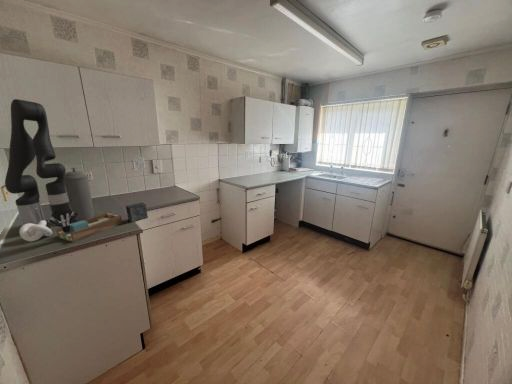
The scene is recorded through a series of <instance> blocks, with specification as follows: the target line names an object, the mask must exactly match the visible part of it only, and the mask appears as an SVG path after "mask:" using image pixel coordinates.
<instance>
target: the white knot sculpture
mask: <svg viewBox="0 0 512 384" xmlns="http://www.w3.org/2000/svg"><path fill="white" fill-rule="evenodd" d="M47 223H48V221H47V220H46V219H45V220H42V221H40V222H39V223H38V224H32V223H28V224H25V225H23V224H22V226H21V227H20V228H19V230H18V231H19V232H18V233H19V236H20V237H21V238H22V239H23V240H24V241H26V242H37V241H39V240H40V239H41V238H42V237H43V236H44V237H50V236H52V235H53V231H52V229H51V228H49V227H48V226H47V227H46V225H47ZM28 229H29V230H28Z"/></svg>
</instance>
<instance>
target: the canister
mask: <svg viewBox="0 0 512 384" xmlns="http://www.w3.org/2000/svg"><path fill="white" fill-rule="evenodd" d="M70 169H71V170H72V171H68V172H65V179H64V185H65V189H66V193H67V196H68V198H69V203H70V208H71V210H72V212H75V213H78V215H77V216H76V218H75V220H74V221H76V222H78V221H82V220H86V219H89V218H92V217H95V212H94V205H93V200H92V199H93V198H92V193H91V189H90V188H91V187H90V182H89V176H88V175H87V174H86V173H84V172H83V171H80V170H79V171H78V170H76V169H77V167H71V168H70Z"/></svg>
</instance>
